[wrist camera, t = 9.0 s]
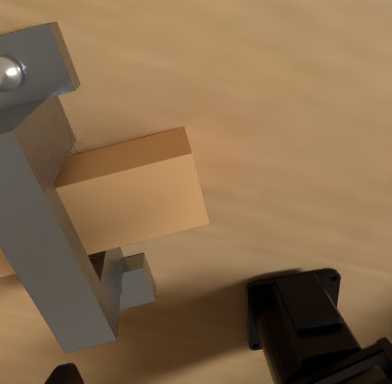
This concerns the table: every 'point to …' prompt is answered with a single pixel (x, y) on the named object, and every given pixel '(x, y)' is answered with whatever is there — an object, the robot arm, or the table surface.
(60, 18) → the table surface
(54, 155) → the mounting bracket
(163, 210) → the tan bar
